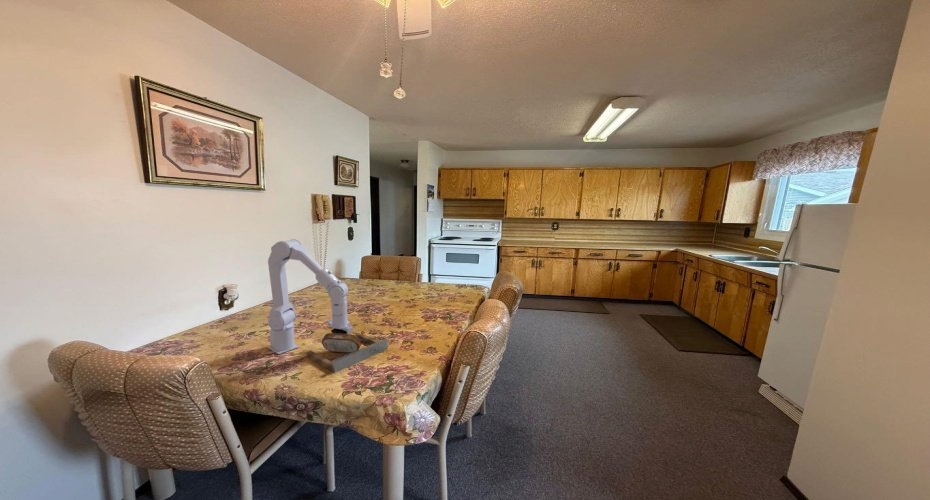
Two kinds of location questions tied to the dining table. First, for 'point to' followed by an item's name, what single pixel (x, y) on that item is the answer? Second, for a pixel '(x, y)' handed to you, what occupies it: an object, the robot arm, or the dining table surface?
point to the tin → (341, 342)
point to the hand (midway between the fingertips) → (340, 345)
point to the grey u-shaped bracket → (351, 354)
